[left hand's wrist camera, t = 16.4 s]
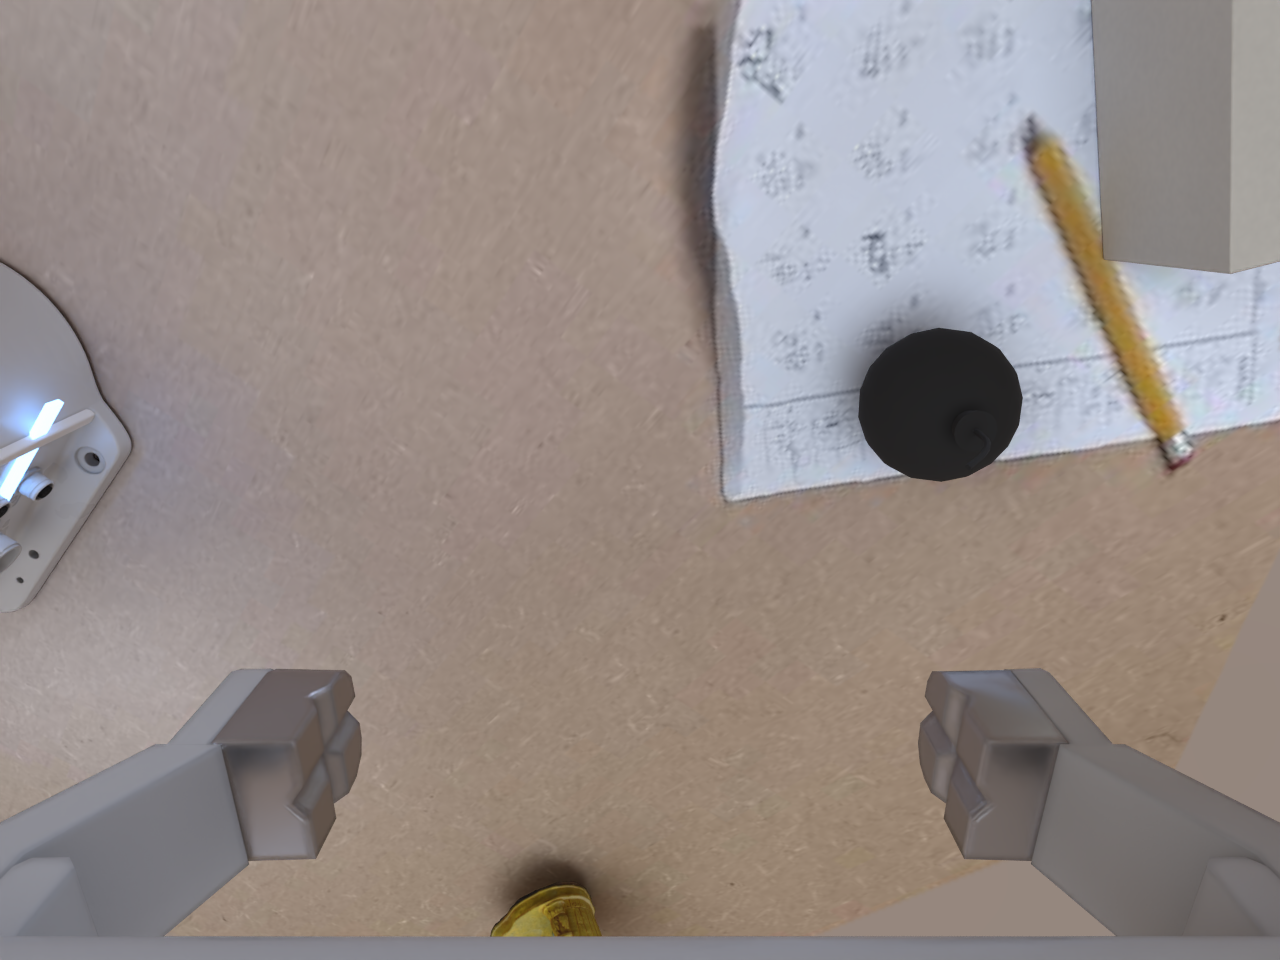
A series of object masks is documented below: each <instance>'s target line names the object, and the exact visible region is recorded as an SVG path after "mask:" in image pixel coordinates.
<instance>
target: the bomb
mask: <svg viewBox="0 0 1280 960" xmlns="http://www.w3.org/2000/svg"><path fill="white" fill-rule="evenodd" d="M1022 399H1023V397H1022V393H1021V389H1020V384H1019V380H1018V376H1017V373H1016V371H1015V369H1014V368H1013V367H1012V365H1011V364H1010V363H1009V361H1008V360H1007V359H1006V357H1005V356H1004V355H1003V353H1002V352H1001V351H1000V349H999V348H997V347H996V346H994V345H993V344H991V343H989V342H987V341H986V340H984V339H982V338H980V337H979V336H977V335H975V334H973V333H972V332H965V331H958V330H950V329H943V328H936V329H931V330H927V331H922V332H917V333H913V334H910V335H908V336H907V337H905V338H903V339H902V340H900V341H898V342H896V343H895V344H893V345H891V346H890V347H888V348H886V350H885V351H884V352H883V353H882V354H881V355H880V356H879V357H878V359H877V360H876V361H875V362H874V363H873V364H872V365H871V367H870V368H869V370H868V373H867V375H866V377H865V380H864V382H863V384H862V387H861V389H860V400H859V416H858V417H859V420H860V423H861V427H862V430H863V433H864V436H865V439H866V441H867V443H868V445H869V446H870V447H871V448H872V449H873V450H874V452H875V453H876V454H877V455H878V456H879V458H880V459H881V460H882V461H883V462H884V463H885V464H887V465H888V466H890V467H892V468H894V469H895V470H897V471H899V472H901V473H903V474H905V475H907V476H909V477H911V478H917V479H925V480H933V481H941V482H942V481H947V480H952V479H957V478H962V477H966V476H969V475H971V474H973V473H975V472H976V471H978V470H980V469H982V468H984V467H986V466H987V465H989V464H991V463H992V462H993V461H994V460H995V459H996V458H997V457H998V456H999V455H1000V454H1001V453H1002V452H1003V451H1004V450H1005V449H1006V448H1007V447H1008V445H1009V443H1010V441H1011V439H1012V437H1013V436H1014V434H1015V432H1016V430H1017V428H1018V426H1019V421H1020V414H1021V406H1022Z"/></svg>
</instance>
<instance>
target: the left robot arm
mask: <svg viewBox="0 0 1280 960" xmlns="http://www.w3.org/2000/svg"><path fill="white" fill-rule="evenodd" d="M131 446H132V445H131V440H130V437H129V435H128V433H127V431H126V430H125V428H124V427H123V425H122V424H121V422H120V421H119V420H118V418H117V417H116V416H115V414H114V413H113V412H112V410H111V409H110V408H109V407H108V406H107V404H106V403H105V402H104V401H103V399H102V397H101V395H100V393H99V390H98V388H97V385H96V383H95V379H94V376H93V373H92V370H91V367H90V364H89V361H88V359H87V356H86V354H85V352H84V350H83V348H82V345H81V344H80V342H79V340H78V338H77V336H76V334H75V333H74V331H73V330H72V328H71V326H70V325H69V324H68V322H67V321H66V319H65V318H64V317H63V315H62V314H61V313H60V312H59V310H58V309H57V308H56V307H55V306H54V305H53V304H52V302H51V301H50V300H49V299H48V298H47V297H46V296H45V295H44V294H43V293H42V292H41V291H40V290H38V289H37V288H36V287H35V286H34V285H33V284H32V283H30V282H29V281H28V280H26V279H25V278H24V277H23V276H21V275H20V274H18V273H17V272H16V271H14V270H13V269H11V268H9V267H8V266H6V265H4V264H3V263H1V262H0V613H6V612H14V611H17V610H19V609H21V608H23V607H25V606H27V605H28V604H29V603H30V602H31V601H32V600H33V599H34V597H35V596H36V594H37V593H38V591H39V590H40V589H41V587H42V586H43V584H44V583H45V581H46V580H47V578H48V577H49V575H50V574H51V572H52V571H53V569H54V568H55V566H56V565H57V563H58V562H59V560H60V559H61V557H62V556H63V554H64V552H65V551H66V549H67V548H68V546H69V545H70V543H71V542H72V540H73V539H74V537H75V536H76V534H77V533H78V531H79V530H80V528H81V527H82V525H83V524H84V522H85V521H86V519H87V518H88V516H89V515H90V513H91V512H92V510H93V509H94V507H95V506H96V504H97V503H98V501H99V500H100V498H101V497H102V495H103V494H104V492H105V491H106V489H107V488H108V486H109V485H110V483H111V482H112V480H113V479H114V477H115V476H116V474H117V473H118V471H119V470H120V468H121V467H122V465H123V464H124V462H125V461H126V459H127V458H128V456H129V454H130V452H131ZM93 453H94V454H96V455H97V456H98V457H99V459H100V462H98V461H97V460H96V459H95V458H94V456H93ZM354 698H355V692H354V687H353V682H352V677H351V676H350V675H349V674H348V673H347V672H346V671H345V670H304V669H275V670H273V669H239V670H236V671H233V672H231V673H230V674H229V675H228V676H227V677H226V678H225V679H224V681H223V682H222V683H221V684H220V685H219V686H218V687H217V688H216V690H215V691H214V692H213V693H212V694H211V695H210V696H209V697H208V699H207V700H206V701H205V702H204V703H203V704H202V705H201V707H200V708H199V709H198V710H197V711H196V712H195V713H194V714H193V716H192V717H191V718H190V719H189V720H188V721H187V722H186V723H185V725H184V726H183V727H182V728H181V729H180V730H179V731H178V732H177V734H176V735H175V736H174V737H173V738H172V739H171V740H170V741H169V743H168V744H155V745H153V746H151V747H149V748H147V749H145V750H143V751H141V752H139V753H137V754H135V755H133V756H131V757H129V758H127V759H125V760H123V761H121V762H119V763H117V764H115V765H113V766H111V767H109V768H107V769H105V770H103V771H101V772H99V773H97V774H95V775H93V776H91V777H89V778H87V779H85V780H83V781H82V782H80V783H78V784H76V785H74V786H72V787H70V788H68V789H66V790H64V791H62V792H60V793H58V794H56V795H54V796H52V797H50V798H48V799H46V800H44V801H42V802H40V803H38V804H36V805H34V806H32V807H30V808H28V809H26V810H24V811H22V812H20V813H18V814H16V815H14V816H12V817H10V818H8V819H6V820H4V821H2V822H0V960H1280V823H1279V822H1277V821H1275V820H1274V819H1272V818H1270V817H1268V816H1266V815H1264V814H1262V813H1260V812H1258V811H1256V810H1254V809H1252V808H1250V807H1248V806H1246V805H1244V804H1242V803H1240V802H1238V801H1236V800H1234V799H1232V798H1230V797H1228V796H1226V795H1224V794H1222V793H1220V792H1218V791H1216V790H1214V789H1212V788H1210V787H1208V786H1206V785H1204V784H1202V783H1200V782H1198V781H1196V780H1194V779H1192V778H1190V777H1188V776H1186V775H1184V774H1182V773H1180V772H1178V771H1177V770H1175V769H1173V768H1171V767H1169V766H1167V765H1165V764H1163V763H1161V762H1159V761H1157V760H1155V759H1153V758H1151V757H1149V756H1147V755H1145V754H1143V753H1141V752H1139V751H1137V750H1135V749H1133V748H1131V747H1129V746H1127V745H1125V744H1112V743H1111V741H1110V740H1109V739H1108V738H1107V737H1106V736H1105V735H1104V734H1103V732H1102V731H1101V730H1100V729H1099V728H1098V727H1097V726H1096V725H1095V723H1094V722H1093V721H1092V720H1091V719H1090V718H1089V717H1088V716H1087V714H1086V713H1085V712H1084V711H1083V710H1082V709H1081V708H1080V707H1079V705H1078V704H1077V703H1076V702H1075V701H1074V700H1073V699H1072V698H1071V696H1070V695H1069V694H1068V693H1067V692H1066V691H1065V690H1064V688H1063V687H1062V686H1061V685H1060V684H1059V683H1058V682H1057V681H1056V679H1055V678H1054V677H1053V676H1052V675H1051V674H1050V673H1049V672H1047V671H1045V670H1043V669H1041V668H1033V669H1004V670H986V671H932V673H931V675H930V677H929V679H928V681H927V686H926V692H925V698H926V699H927V701H928V703H929V705H930V706H931V708H932V710H933V711H932V712H931V713H930V714H929V715H928V716H927V717H926V718H925V719H924V720H923V721H922V722H921V723H920V731H919V740H918V748H919V759H920V765H921V769H922V772H923V776H924V779H925V781H926V783H927V785H928V787H929V789H930V792H931V793H932V794H934V795H935V796H936V797H938V798H939V799H941V800H942V801H943V802H945V803H946V808H945V814H944V820H945V822H946V824H947V826H948V828H949V830H950V832H951V834H952V836H953V838H954V840H955V842H956V844H957V846H958V848H959V849H960V851H961V853H962V855H963V857H964V859H983V860H1020V861H1032V862H1031V864H1032V865H1033V866H1034V867H1035V868H1036V869H1038V870H1039V871H1040V872H1041V873H1042V874H1043V875H1045V876H1046V877H1047V878H1048V879H1049V880H1051V881H1052V882H1053V883H1054V884H1055V885H1056V886H1058V887H1059V888H1060V889H1061V890H1062V891H1064V892H1065V893H1066V894H1067V895H1068V896H1070V897H1071V898H1072V899H1073V900H1074V901H1075V902H1077V903H1078V904H1079V905H1080V906H1081V907H1082V908H1084V909H1085V910H1086V911H1087V912H1088V913H1090V914H1091V915H1092V916H1093V917H1094V918H1095V919H1097V920H1098V921H1099V922H1100V923H1101V924H1103V925H1104V926H1105V927H1106V928H1107V929H1108V930H1110V931H1111V932H1112V933H1113V934H1114V935H1116V936H1064V937H1063V936H1062V937H1000V936H999V937H998V936H997V937H993V936H992V937H990V936H987V937H985V936H984V937H983V936H979V937H978V936H581V937H270V936H165V935H166V934H167V933H168V932H169V931H171V930H172V929H173V928H174V927H175V926H176V925H178V924H179V923H180V922H181V921H182V920H184V919H185V918H186V917H187V916H188V915H190V914H191V913H192V912H193V911H194V910H195V909H197V908H198V907H199V906H200V905H201V904H203V903H204V902H205V901H206V900H207V899H208V898H210V897H211V896H212V895H213V894H214V893H216V892H217V891H218V890H219V889H220V888H222V887H223V886H224V885H225V884H226V883H227V882H229V881H230V880H231V879H232V878H233V877H235V876H236V875H237V874H238V873H239V872H240V871H242V870H243V869H244V868H245V867H246V866H248V865H249V862H248V861H261V860H295V859H316V858H317V856H318V854H319V852H320V850H321V848H322V846H323V844H324V842H325V840H326V838H327V836H328V834H329V832H330V830H331V828H332V826H333V824H334V822H335V820H336V814H335V808H334V803H335V802H337V801H338V800H339V799H341V798H342V797H344V796H345V795H346V794H348V793H349V792H350V789H351V787H352V785H353V783H354V781H355V779H356V777H357V772H358V768H359V763H360V759H361V746H362V737H361V730H360V723H359V722H358V721H357V720H356V719H355V718H354V717H353V716H352V715H351V714H350V713H349V712H348V711H347V710H348V708H349V706H350V705H351V703H352V701H353V699H354Z"/></svg>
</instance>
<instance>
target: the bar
mask: <svg viewBox="0 0 1280 960" xmlns="http://www.w3.org/2000/svg"><path fill="white" fill-rule="evenodd" d="M1091 2H1092V23H1093V44H1094V65H1095V87H1096V108H1097V129H1098V150H1099V171H1100V193H1101V214H1102V235H1103V256H1104V259H1105V260H1113V261H1122V262H1131V263H1139V264H1148V265H1157V266H1166V267H1175V268H1183V269H1192V270H1201V271H1210V272H1219V273H1227V274H1232V273H1236V272H1240V271H1244V270H1248V269H1252V268H1256V267H1260V266H1264V265H1268V264H1272V263H1275V262H1279V261H1280V0H1091Z"/></svg>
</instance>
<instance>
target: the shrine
mask: <svg viewBox="0 0 1280 960" xmlns="http://www.w3.org/2000/svg"><path fill="white" fill-rule="evenodd" d="M594 914H595V908H594V906H593V905H592V901H591V897H590V895H589V894H588V892H587V891H586V888H584V887H583V886H582V885H580V884H578V883H575V882H574V881H572V882H559V883H555V884H552V885H549V886H547V887H544V888H542V889H539V890H536V891H534V892H532V893H530V894H528V895H526V896H524V897H522V898H520V899H519V900H518V901H517V902H516V903H515V904H514V905H513V906H512V907H511V908H510V910H509V912H508V913H507V914H506V915H505V916H504V917H503V918H502V919H500V921H499V922H498V923H496V924H495V925H494V927H493V929H492V931H491V937H581V936H602V935H601V932H600V930H599V926H598V925H597V923H596V920H595V918H594Z"/></svg>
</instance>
